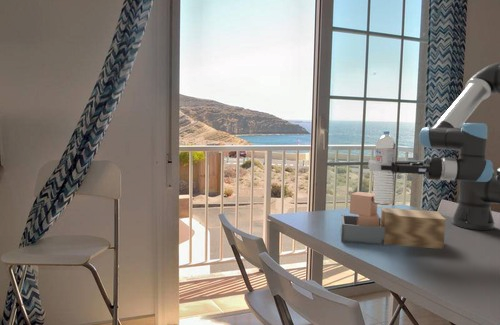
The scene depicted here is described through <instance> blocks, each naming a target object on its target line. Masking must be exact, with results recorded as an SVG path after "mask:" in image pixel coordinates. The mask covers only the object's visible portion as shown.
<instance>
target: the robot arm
mask: <svg viewBox="0 0 500 325" xmlns="http://www.w3.org/2000/svg"><path fill="white" fill-rule="evenodd" d="M495 94H500V62H496V63H492V64H489V65H488V66H485V67H484V68H482V69H481V70H479V71H477V72H476V73H475V74H474V75H472V76H471V77H470V78H469V79H468V80H467V82H466V83H465V86H464V89H463V91H462V92H461V93H460V95H458V97H457V98H456V99H455V100H454V101H453V102H452V104H451V105H450V106H449V107H448V109H447V110H446V111H445V112H444V113H443V114H442V116H441V117H440V118H439V119H438V120H437V121H436V123H435V124H434V125H433V126H425V127H422V128H421V130H420V132H419V135H418V141H419V144H420V145H421V146H422V147H423V148H428V149H431V150H433V149H435V150H447V151H449V150H452V151H459V158H456V157H442V158H440V157H434V156H433V157H432V156H431V157H428V158H427V160H426V163H424V162H422V161H419V160H418V161H399V160H397V161H396V160H395V164H394V162H392V164H390V163H375V160H368V165H367V166H368V167H367V168H368V169H370V171H371V172H374V171H385V172H394V173H395V174H417V175H425V176H426V179H428V180H436V181H438V180H441V181H446V182H447V183H450V182H451V181H455V182H457V181H458V182H459V192H458V203H457V204H458V205H457V208H456V210H455V211H454V214H453V216H452V220H451V223H452V224H453V225H454V226H457V227H460V228H464V229H468V230H469V229H470V230H478V231H479V230H480V231H489V230H494V228H495V221H494V218H493V213H492V210H491V209H492V208H491V205H492V204H494V205H495V204H496V205H500V167H498V168H497V170H496V173H495V170H494V165H493V162H492V161H491V160H490V159H486V153H487V143H488V142H487V141H488V137H489V136H488V125H487V124H486V123H483V122H481V123H480V122H479V123H477V122H467V120H468V119H469V117H470V116H472V114H473V112H475V110H476V109H477V108H478V106H479V105H480V104H481V102H483V101H485V100H487V99H488V98H489V97H490V96H492V95H495Z"/></svg>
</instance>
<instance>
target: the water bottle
mask: <svg viewBox="0 0 500 325" xmlns="http://www.w3.org/2000/svg"><path fill="white" fill-rule="evenodd" d="M396 148H397V143H396V141H395V140H394V138H393V137H391V135H390V131H388V130H384V131H383V135H382V136H380V138H378V139H377V140H376V141H375V154H374V161H375V163H390V164H392V162H394V164H395V161H396V154H397V153H396V151H397V149H396ZM395 175H396V173H394V172H385V171H373V187H372V189H373V190H372V191H373V192H372V193H373V202H374V203H375V204H377V205H382V206H391V205H392V204H393V203H394V195H395Z"/></svg>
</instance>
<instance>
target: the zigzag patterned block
mask: <svg viewBox="0 0 500 325" xmlns="http://www.w3.org/2000/svg"><path fill="white" fill-rule="evenodd" d="M380 218H381V221H380V227H385V236H384V245H390V246H401V247H402V246H403V247H414V248H425V249H426V248H427V249H436V250H437V249H440V250H444V245H445V235H446V234H445V233H446V223H447V222H446V220H447V219H446V218H445V217H444V216H442V214H440V212H438V210H437V211H434V210H420V209H419V210H418V209H405V208H390V207H381V211H380Z"/></svg>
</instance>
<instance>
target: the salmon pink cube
mask: <svg viewBox="0 0 500 325" xmlns="http://www.w3.org/2000/svg"><path fill="white" fill-rule="evenodd" d="M349 200H350V201H349V204H350V205H349V214H352V215H356V216H357V215H364V216H372V215H374V214H376V213H377V214H378V204H375V203H374V202H373V192H363V191H356V192H353V193H350V196H349Z"/></svg>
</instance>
